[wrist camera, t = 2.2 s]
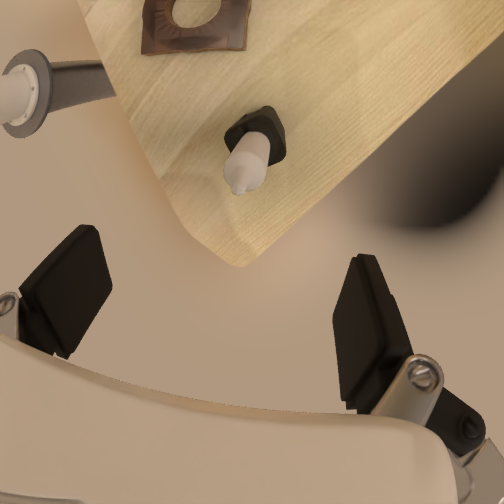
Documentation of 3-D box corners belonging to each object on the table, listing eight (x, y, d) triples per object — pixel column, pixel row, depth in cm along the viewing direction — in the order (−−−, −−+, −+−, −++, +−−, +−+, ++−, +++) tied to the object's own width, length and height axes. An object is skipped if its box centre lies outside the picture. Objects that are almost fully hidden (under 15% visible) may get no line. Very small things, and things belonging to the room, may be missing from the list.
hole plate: (147, 56, 31) (139, 56, 29) (154, -24, 23) (147, -28, 21) (247, 51, 30) (244, 49, 28) (253, -33, 22) (252, -40, 20)
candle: (254, 149, 38) (220, 242, 18) (237, 118, 36) (177, 171, 15) (287, 135, 37) (297, 212, 16) (271, 103, 34) (258, 131, 14)
